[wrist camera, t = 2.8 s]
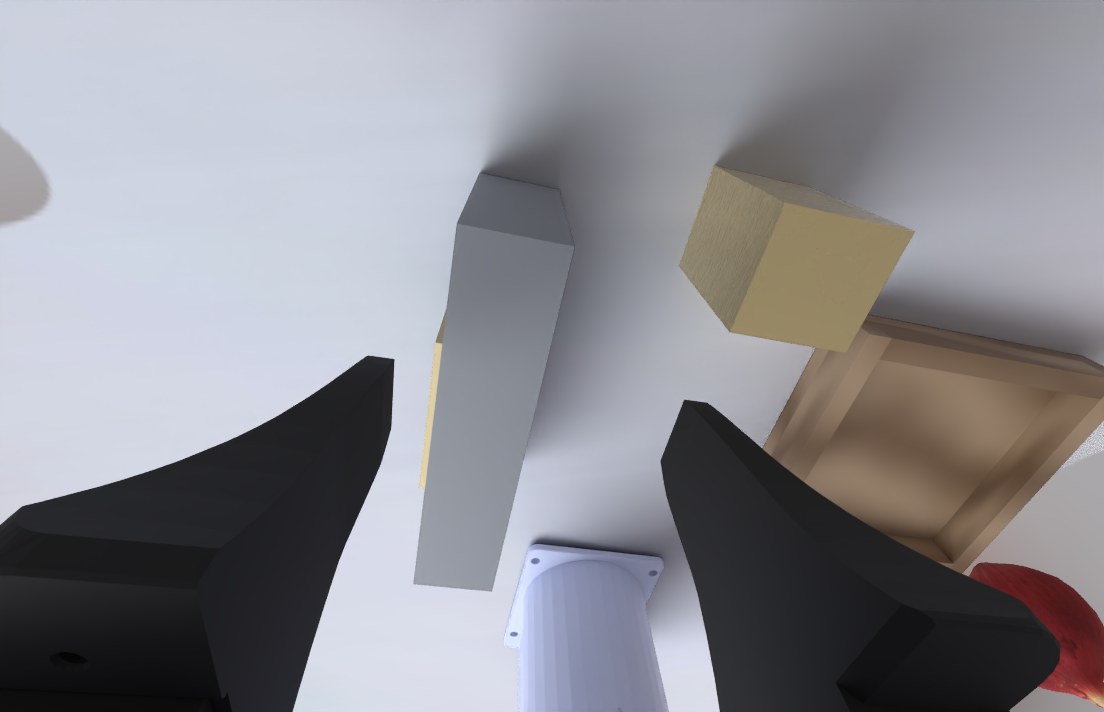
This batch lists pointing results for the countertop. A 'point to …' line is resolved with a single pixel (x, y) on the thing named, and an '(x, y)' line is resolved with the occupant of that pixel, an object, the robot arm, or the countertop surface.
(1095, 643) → the onion
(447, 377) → the wall unit
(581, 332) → the countertop surface
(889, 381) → the tray
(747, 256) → the brass block
